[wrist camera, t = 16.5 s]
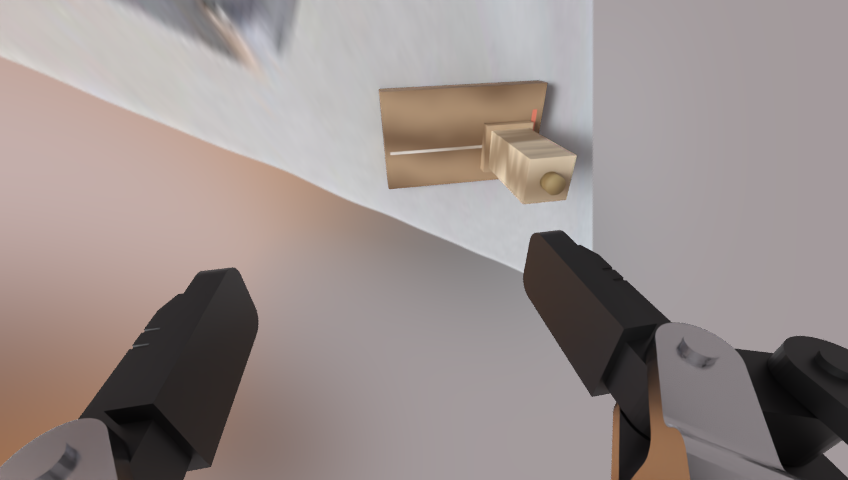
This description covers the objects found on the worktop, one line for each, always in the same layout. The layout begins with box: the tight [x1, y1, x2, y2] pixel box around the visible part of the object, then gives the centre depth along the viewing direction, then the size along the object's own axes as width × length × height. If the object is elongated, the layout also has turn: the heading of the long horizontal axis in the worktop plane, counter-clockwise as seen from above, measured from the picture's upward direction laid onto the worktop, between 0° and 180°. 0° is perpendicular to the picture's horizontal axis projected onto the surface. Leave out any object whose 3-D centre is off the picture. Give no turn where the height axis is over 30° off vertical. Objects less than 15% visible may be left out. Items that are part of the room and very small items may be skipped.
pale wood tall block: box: [480, 120, 577, 204], centre depth 30 cm, size 5×6×11 cm
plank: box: [379, 80, 547, 189], centre depth 35 cm, size 10×17×2 cm, turn 92°
